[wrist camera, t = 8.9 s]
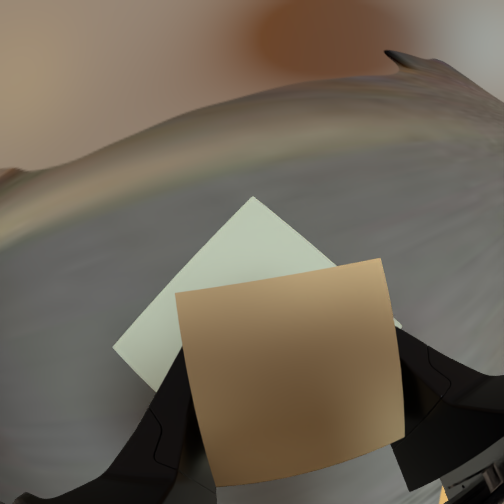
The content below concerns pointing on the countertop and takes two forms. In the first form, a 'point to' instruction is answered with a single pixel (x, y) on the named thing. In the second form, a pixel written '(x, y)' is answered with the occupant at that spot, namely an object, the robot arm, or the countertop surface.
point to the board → (217, 282)
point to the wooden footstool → (293, 371)
